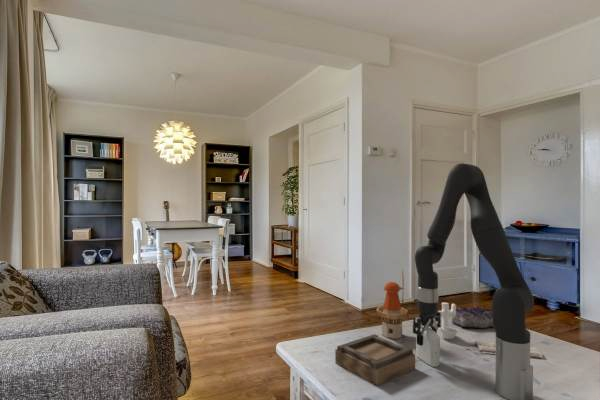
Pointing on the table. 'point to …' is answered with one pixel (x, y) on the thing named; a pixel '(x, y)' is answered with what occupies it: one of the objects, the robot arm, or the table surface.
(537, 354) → the newspaper
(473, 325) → the geode
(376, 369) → the walnut plinth
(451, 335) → the figurine
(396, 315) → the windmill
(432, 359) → the photo printer
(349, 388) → the table surface
